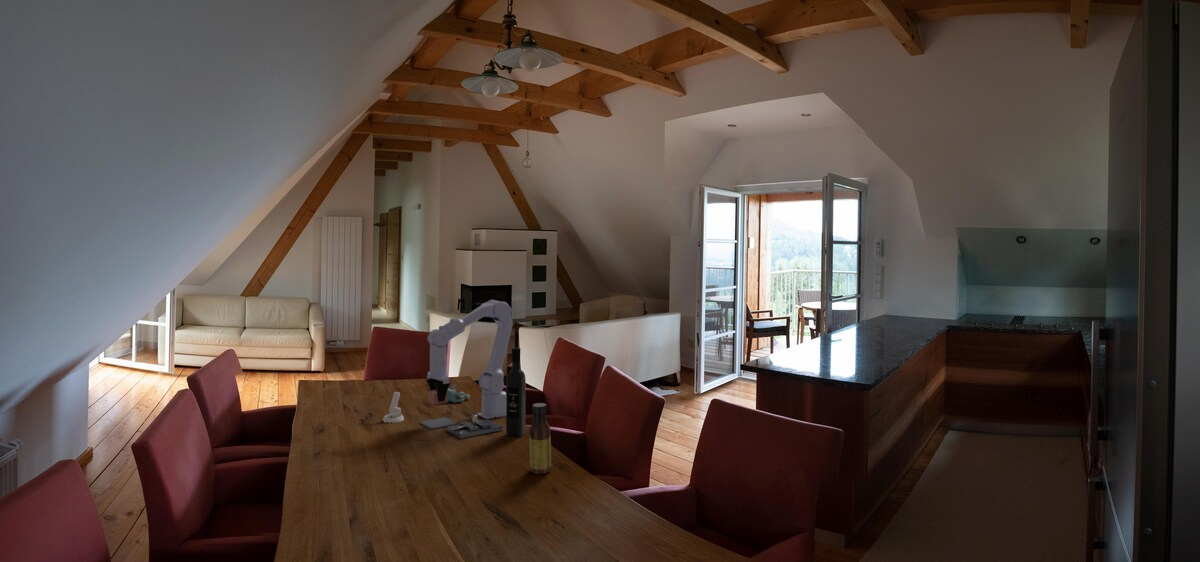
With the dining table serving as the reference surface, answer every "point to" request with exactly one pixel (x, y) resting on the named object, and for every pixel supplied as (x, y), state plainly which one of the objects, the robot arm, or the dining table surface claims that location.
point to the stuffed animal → (455, 395)
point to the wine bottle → (515, 397)
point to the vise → (474, 428)
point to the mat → (438, 423)
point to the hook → (394, 410)
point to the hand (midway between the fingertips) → (438, 399)
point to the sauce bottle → (539, 441)
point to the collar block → (435, 397)
